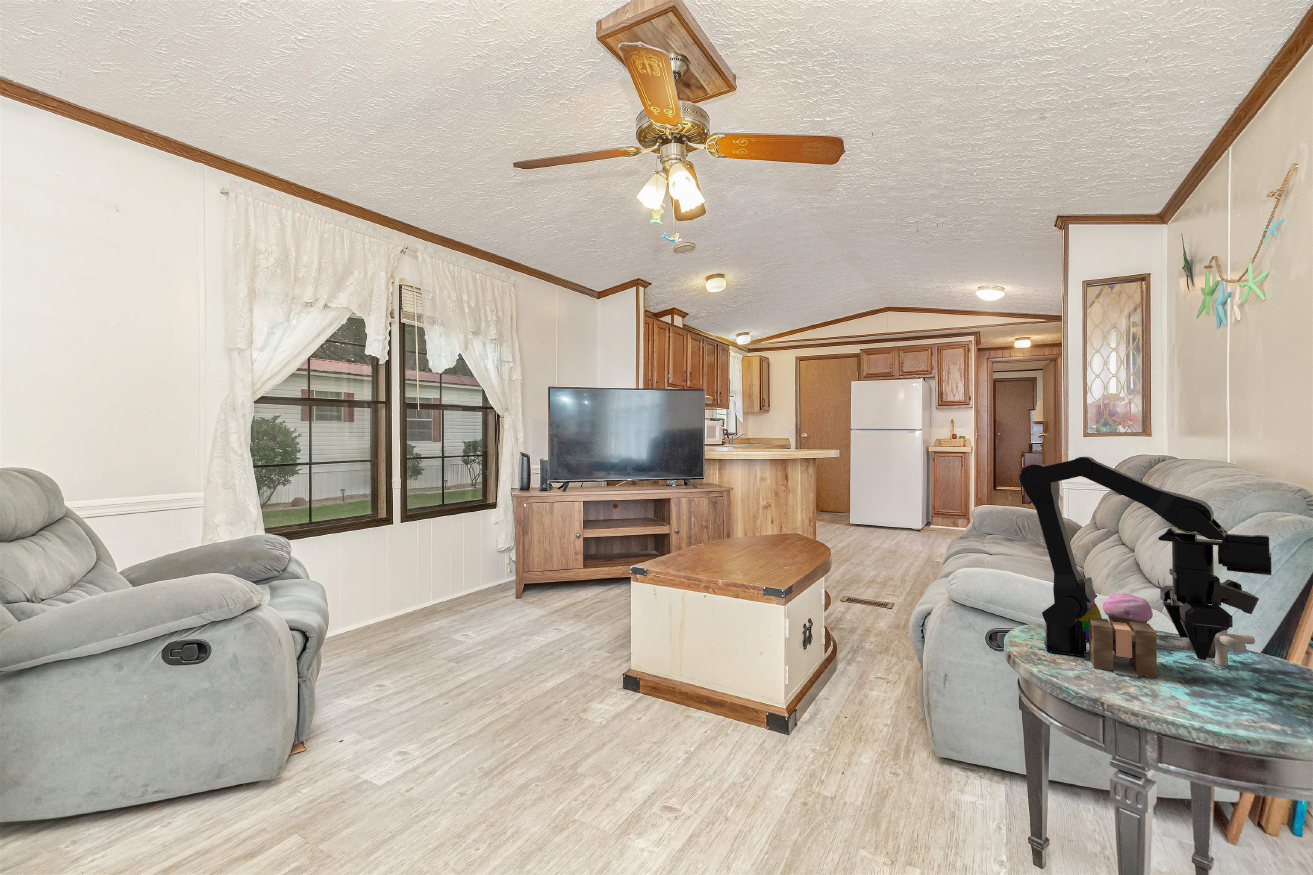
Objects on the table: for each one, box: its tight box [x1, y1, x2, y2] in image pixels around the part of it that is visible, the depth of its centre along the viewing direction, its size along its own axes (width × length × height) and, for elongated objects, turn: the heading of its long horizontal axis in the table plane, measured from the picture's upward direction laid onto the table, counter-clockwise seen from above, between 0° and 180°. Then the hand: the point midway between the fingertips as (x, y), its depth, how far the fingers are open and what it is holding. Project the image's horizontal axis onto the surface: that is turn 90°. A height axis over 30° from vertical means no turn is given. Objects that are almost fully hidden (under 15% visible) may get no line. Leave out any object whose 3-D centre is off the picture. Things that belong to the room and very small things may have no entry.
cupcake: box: [1102, 592, 1154, 626], centre depth 131 cm, size 9×9×10 cm
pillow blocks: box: [1088, 617, 1158, 678], centre depth 115 cm, size 10×6×8 cm, turn 61°
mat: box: [1112, 656, 1139, 679], centre depth 115 cm, size 3×10×1 cm, turn 151°
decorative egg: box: [1079, 602, 1103, 642], centre depth 133 cm, size 8×8×10 cm
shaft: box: [1113, 629, 1216, 660], centre depth 113 cm, size 17×4×4 cm, turn 61°
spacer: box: [1111, 622, 1132, 659], centre depth 115 cm, size 2×5×5 cm, turn 150°
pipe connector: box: [1214, 630, 1256, 667], centre depth 116 cm, size 10×10×10 cm
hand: (1194, 651), depth 110 cm, fingers open, 9 cm apart
